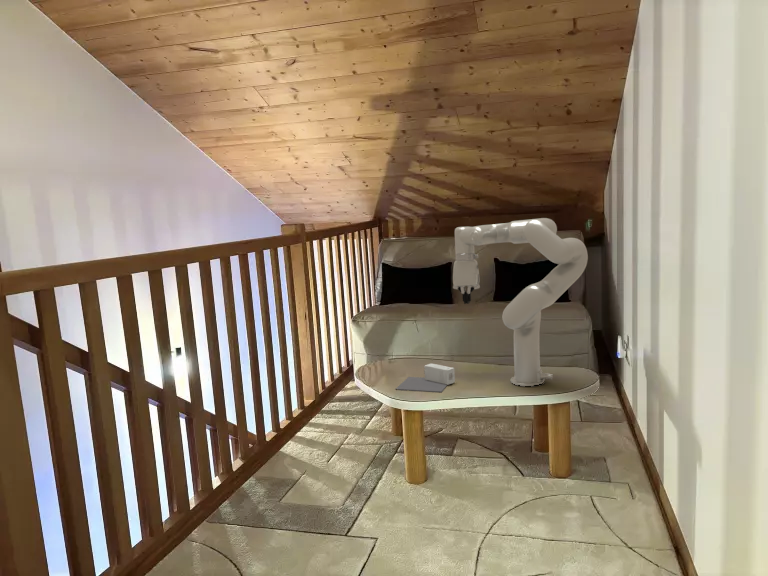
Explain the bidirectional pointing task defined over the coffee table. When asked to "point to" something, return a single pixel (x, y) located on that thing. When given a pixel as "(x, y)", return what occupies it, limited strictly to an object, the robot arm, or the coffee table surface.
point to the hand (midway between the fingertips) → (466, 303)
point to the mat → (421, 385)
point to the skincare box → (439, 373)
